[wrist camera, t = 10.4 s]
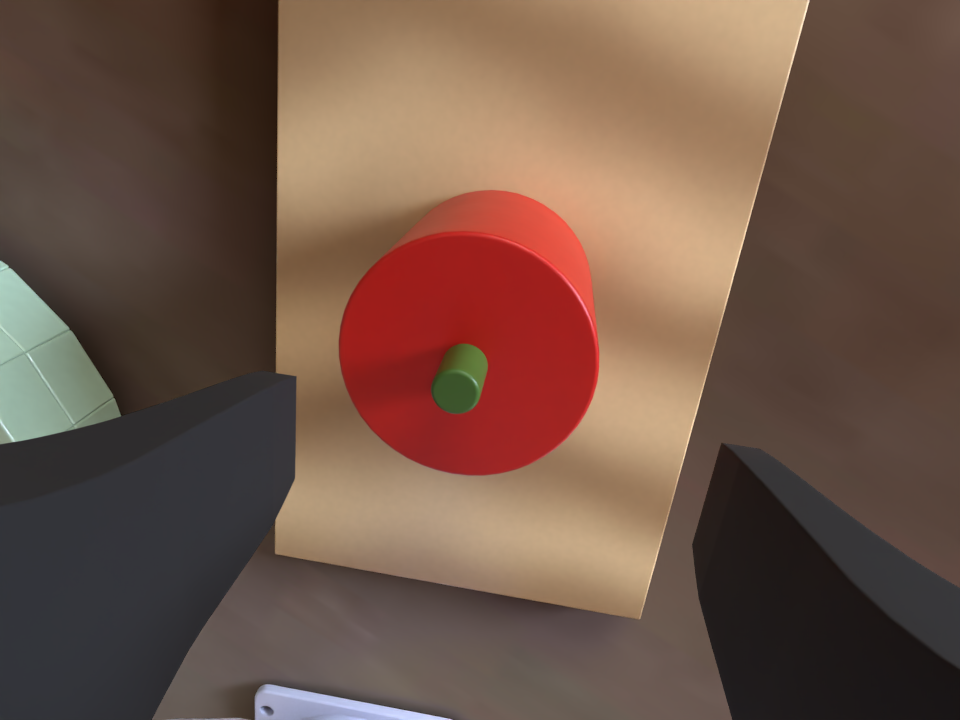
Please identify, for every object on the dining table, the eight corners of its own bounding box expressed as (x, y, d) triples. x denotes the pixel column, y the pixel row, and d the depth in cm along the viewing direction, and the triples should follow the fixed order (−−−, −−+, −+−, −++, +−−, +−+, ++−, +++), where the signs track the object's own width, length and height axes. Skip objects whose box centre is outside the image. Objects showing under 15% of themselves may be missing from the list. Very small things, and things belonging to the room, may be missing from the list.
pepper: (572, 392, 19) (574, 537, 13) (390, 362, 20) (309, 491, 13) (609, 204, 17) (631, 274, 11) (404, 175, 18) (317, 227, 11)
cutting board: (636, 594, 23) (640, 620, 22) (287, 532, 24) (274, 554, 23) (825, -115, 15) (846, -130, 14) (298, -174, 16) (278, -193, 15)
